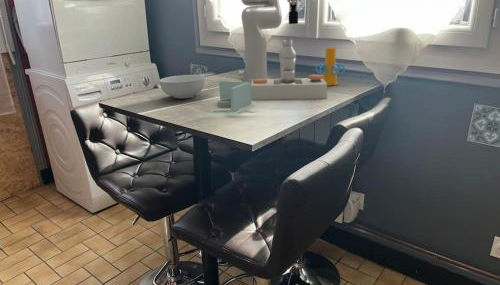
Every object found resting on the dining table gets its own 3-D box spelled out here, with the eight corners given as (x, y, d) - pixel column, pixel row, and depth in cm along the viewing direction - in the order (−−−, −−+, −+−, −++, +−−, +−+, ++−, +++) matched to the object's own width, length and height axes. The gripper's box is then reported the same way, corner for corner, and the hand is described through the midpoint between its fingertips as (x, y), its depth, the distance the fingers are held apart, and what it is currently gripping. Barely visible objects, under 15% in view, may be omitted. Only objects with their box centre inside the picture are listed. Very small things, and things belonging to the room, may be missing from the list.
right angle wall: (221, 101, 139) (220, 80, 136) (251, 104, 133) (250, 82, 131) (202, 108, 128) (201, 86, 126) (234, 112, 123) (233, 88, 121)
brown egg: (309, 92, 141) (309, 76, 140) (307, 89, 146) (308, 74, 145) (323, 91, 141) (323, 76, 139) (321, 89, 146) (322, 74, 144)
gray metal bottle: (296, 93, 148) (296, 39, 142) (296, 96, 141) (296, 40, 135) (279, 93, 149) (278, 39, 142) (278, 96, 142) (278, 40, 136)
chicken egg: (253, 95, 143) (252, 81, 141) (253, 93, 148) (253, 78, 146) (267, 95, 143) (266, 80, 141) (267, 92, 148) (267, 78, 146)
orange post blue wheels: (345, 82, 165) (347, 46, 161) (343, 87, 156) (344, 49, 151) (317, 82, 169) (318, 46, 165) (312, 86, 160) (313, 49, 155)
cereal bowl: (188, 90, 160) (187, 73, 158) (214, 95, 149) (213, 76, 147) (152, 97, 149) (150, 78, 147) (177, 103, 138) (175, 83, 136)
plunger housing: (250, 99, 139) (250, 85, 137) (252, 92, 152) (252, 79, 151) (326, 98, 137) (327, 84, 136) (321, 90, 151) (322, 77, 149)
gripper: (305, -37, 123) (304, 23, 129) (303, -31, 137) (303, 23, 143) (281, -36, 124) (282, 24, 130) (282, -30, 138) (283, 23, 144)
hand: (293, 23), depth 136 cm, fingers closed
